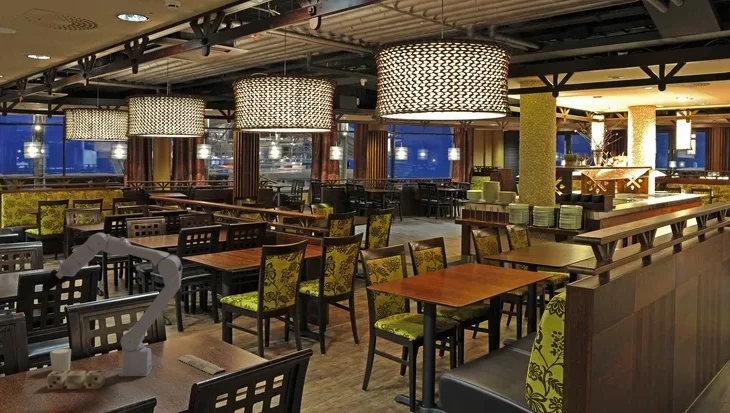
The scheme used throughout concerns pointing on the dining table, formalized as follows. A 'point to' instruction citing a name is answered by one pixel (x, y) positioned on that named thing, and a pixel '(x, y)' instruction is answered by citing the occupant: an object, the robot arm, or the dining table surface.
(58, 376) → the dotted block three
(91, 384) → the dotted block two
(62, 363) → the cream short cylinder
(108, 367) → the dining table surface
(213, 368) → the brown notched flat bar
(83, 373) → the plain block
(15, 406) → the dining table surface
